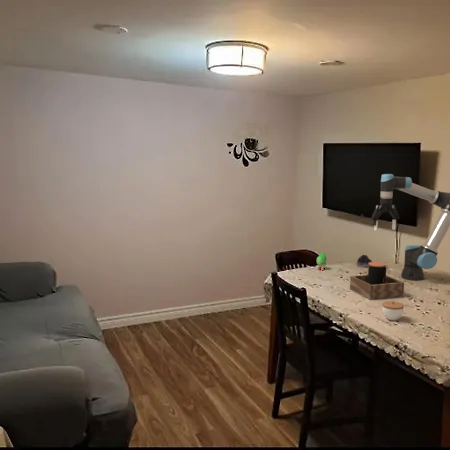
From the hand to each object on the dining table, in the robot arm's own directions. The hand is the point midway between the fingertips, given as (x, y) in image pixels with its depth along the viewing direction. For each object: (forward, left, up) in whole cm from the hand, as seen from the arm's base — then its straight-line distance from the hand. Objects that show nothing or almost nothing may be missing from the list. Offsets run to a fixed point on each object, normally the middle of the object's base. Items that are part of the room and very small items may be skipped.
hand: (384, 230), depth 301 cm
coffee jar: (+16, +17, -36) cm, 43 cm away
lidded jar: (+34, +59, -37) cm, 77 cm away
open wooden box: (+16, +17, -37) cm, 43 cm away
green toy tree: (+22, -48, -37) cm, 65 cm away
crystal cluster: (-17, -48, -37) cm, 64 cm away
